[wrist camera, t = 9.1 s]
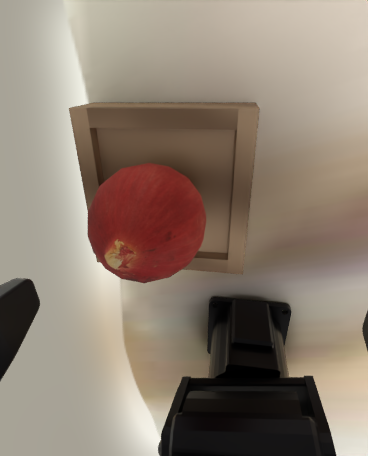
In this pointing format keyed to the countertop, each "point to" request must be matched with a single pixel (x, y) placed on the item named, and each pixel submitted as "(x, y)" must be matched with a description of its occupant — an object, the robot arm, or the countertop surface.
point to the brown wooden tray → (179, 161)
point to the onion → (146, 222)
